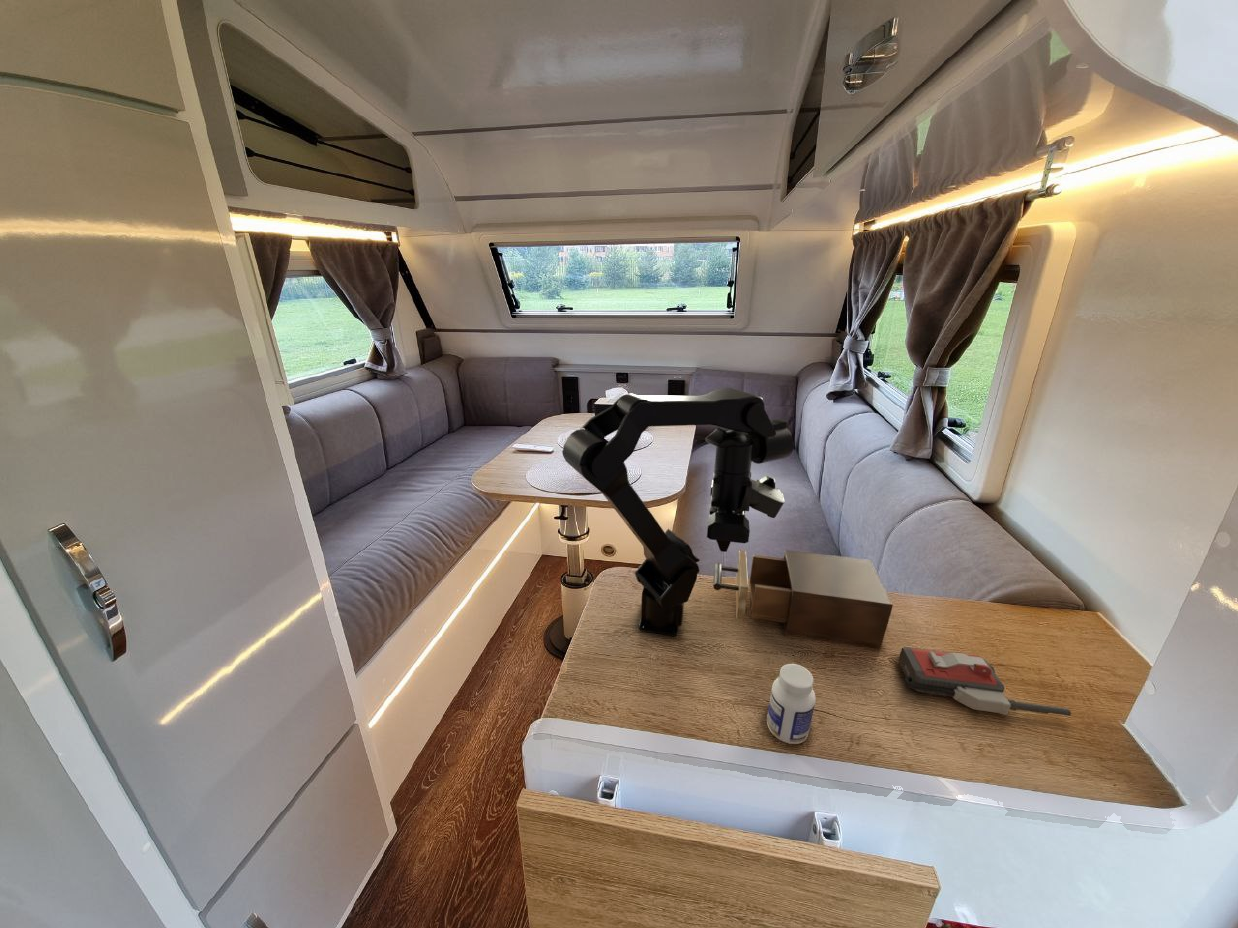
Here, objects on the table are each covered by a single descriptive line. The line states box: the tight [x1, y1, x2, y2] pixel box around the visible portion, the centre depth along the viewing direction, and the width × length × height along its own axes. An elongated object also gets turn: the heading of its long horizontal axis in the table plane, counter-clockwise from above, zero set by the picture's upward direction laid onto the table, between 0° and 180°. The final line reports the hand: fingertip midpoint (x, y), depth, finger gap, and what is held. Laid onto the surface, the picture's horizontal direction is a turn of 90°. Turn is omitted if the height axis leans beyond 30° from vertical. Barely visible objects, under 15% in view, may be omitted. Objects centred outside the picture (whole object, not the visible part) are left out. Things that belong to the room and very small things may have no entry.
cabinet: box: [783, 549, 894, 650], centre depth 81 cm, size 15×13×9 cm
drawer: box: [712, 549, 792, 624], centre depth 83 cm, size 18×11×7 cm, turn 78°
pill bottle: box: [766, 663, 817, 745], centre depth 60 cm, size 5×5×9 cm
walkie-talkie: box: [897, 646, 1072, 717], centre depth 67 cm, size 9×4×20 cm
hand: (723, 550), depth 82 cm, fingers closed
